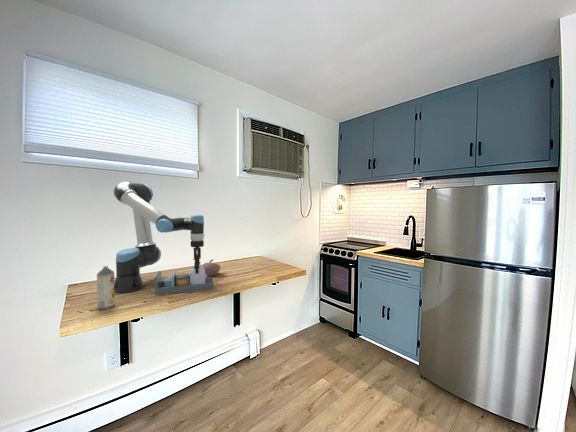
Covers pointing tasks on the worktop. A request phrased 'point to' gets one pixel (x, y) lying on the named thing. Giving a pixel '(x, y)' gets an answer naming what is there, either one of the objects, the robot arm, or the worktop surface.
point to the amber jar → (182, 280)
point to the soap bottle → (201, 274)
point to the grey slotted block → (178, 289)
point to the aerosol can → (105, 288)
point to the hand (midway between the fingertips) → (197, 276)
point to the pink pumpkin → (211, 268)
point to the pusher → (170, 281)
